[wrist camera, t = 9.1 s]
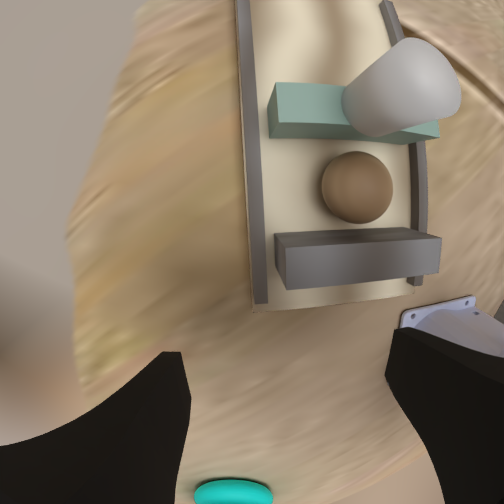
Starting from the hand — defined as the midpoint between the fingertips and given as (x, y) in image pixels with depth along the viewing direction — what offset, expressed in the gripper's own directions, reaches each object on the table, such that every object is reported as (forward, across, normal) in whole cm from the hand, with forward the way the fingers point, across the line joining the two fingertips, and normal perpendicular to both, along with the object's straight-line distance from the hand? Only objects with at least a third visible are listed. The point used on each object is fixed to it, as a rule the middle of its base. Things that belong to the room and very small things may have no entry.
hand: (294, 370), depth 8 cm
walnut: (+7, -5, -6) cm, 10 cm away
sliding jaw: (+9, -5, -10) cm, 14 cm away
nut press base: (+10, -5, -10) cm, 15 cm away
